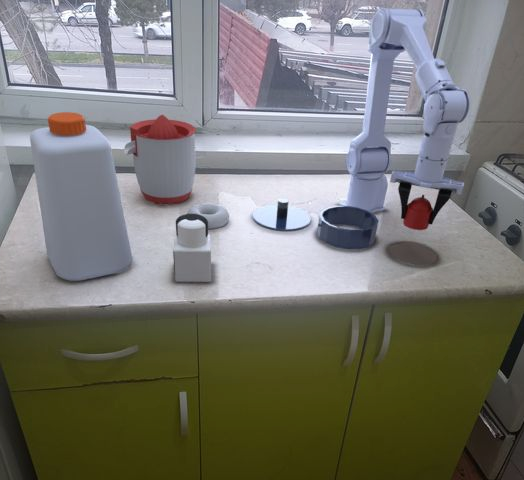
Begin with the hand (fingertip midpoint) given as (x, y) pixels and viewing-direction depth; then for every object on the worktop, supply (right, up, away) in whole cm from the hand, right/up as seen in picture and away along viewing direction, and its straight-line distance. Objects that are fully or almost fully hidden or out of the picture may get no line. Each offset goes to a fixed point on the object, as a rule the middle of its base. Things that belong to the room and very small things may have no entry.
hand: (416, 219), depth 111 cm
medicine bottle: (-47, -13, -7) cm, 50 cm away
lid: (-29, +4, +14) cm, 32 cm away
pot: (-14, -2, +9) cm, 17 cm away
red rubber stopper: (0, -1, +1) cm, 1 cm away
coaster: (0, -7, +5) cm, 8 cm away
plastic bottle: (-69, -10, -6) cm, 70 cm away
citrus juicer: (-59, +11, +21) cm, 64 cm away
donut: (-46, +2, +11) cm, 48 cm away
